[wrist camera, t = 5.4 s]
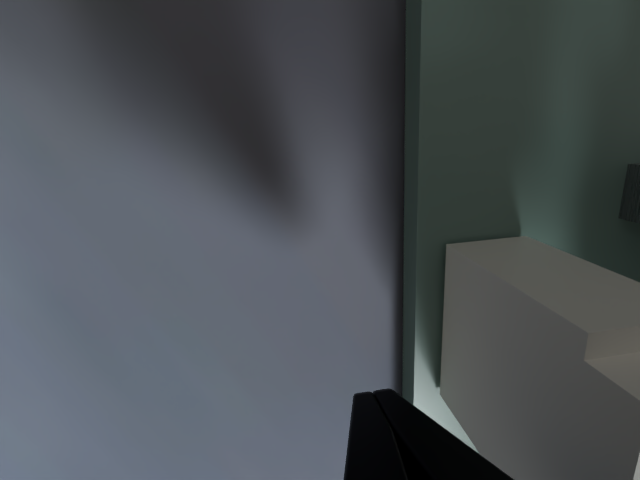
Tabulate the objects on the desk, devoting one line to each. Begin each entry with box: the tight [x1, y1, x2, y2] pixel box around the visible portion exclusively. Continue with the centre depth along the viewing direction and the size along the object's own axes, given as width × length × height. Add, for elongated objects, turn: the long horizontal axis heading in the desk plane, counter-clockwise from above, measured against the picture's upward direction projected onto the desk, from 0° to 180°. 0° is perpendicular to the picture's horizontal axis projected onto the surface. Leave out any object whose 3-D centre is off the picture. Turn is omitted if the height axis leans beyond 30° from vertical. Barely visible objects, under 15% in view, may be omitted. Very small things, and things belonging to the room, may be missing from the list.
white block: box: [440, 236, 640, 480], centre depth 9 cm, size 5×4×6 cm
